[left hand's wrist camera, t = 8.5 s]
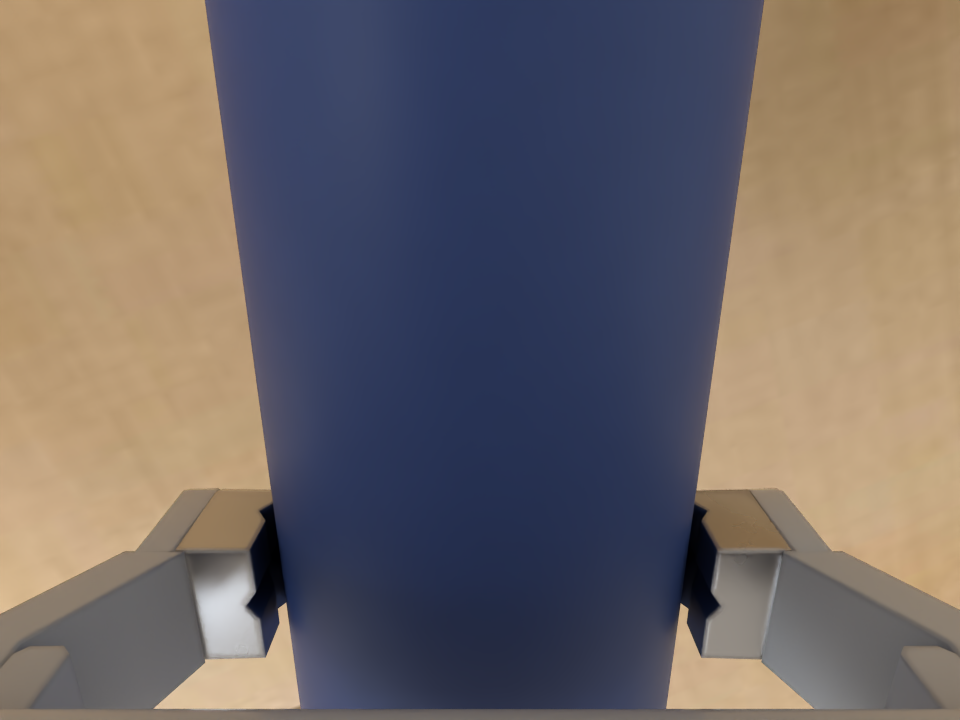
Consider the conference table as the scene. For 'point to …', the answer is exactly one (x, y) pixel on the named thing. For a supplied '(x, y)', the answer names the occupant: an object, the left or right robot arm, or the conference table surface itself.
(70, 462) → the conference table surface
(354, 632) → the rod
